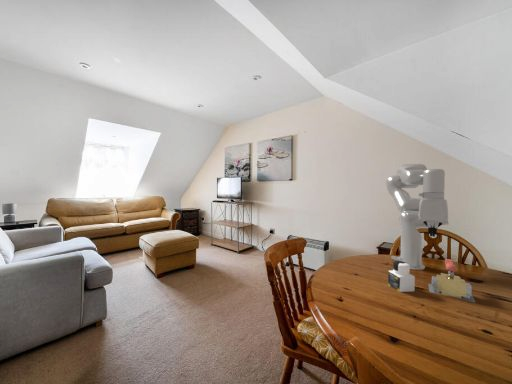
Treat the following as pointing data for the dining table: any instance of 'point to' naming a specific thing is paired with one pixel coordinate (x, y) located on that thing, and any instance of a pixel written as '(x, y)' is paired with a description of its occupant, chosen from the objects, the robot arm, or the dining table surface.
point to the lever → (450, 265)
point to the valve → (451, 285)
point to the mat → (450, 296)
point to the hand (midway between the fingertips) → (432, 235)
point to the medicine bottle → (401, 277)
